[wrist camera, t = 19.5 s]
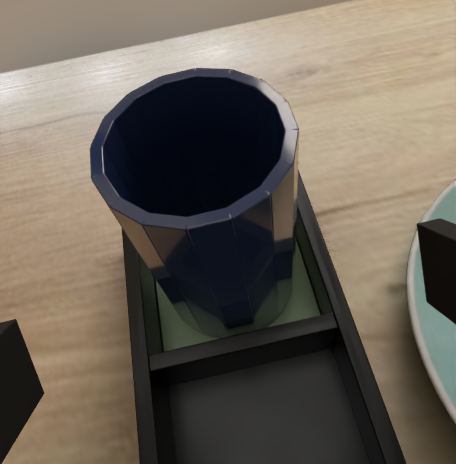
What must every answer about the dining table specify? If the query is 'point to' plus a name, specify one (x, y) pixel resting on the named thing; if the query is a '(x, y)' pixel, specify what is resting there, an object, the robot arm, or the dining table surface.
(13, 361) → the robot arm
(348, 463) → the tray
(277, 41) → the dining table surface
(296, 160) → the cup
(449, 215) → the plate
